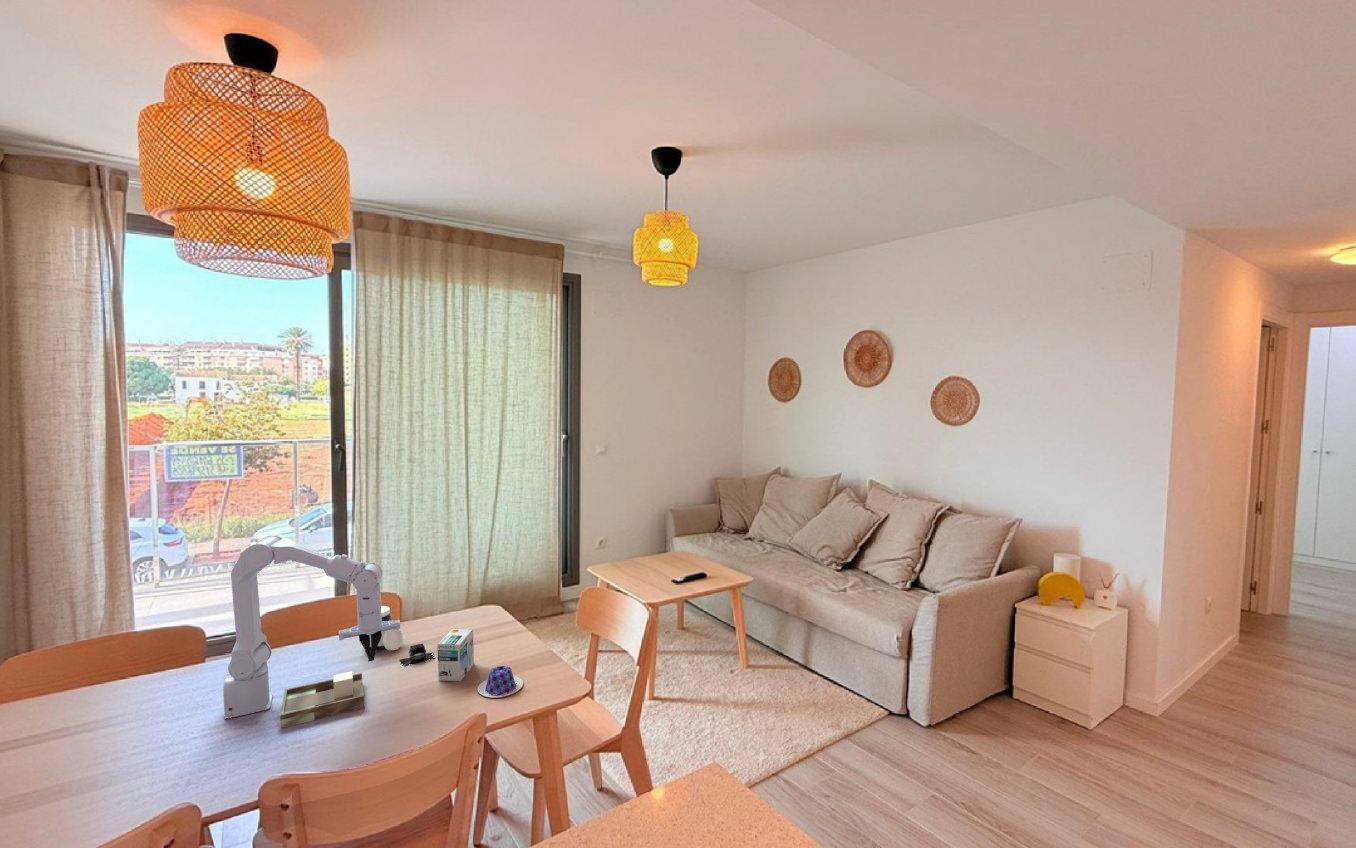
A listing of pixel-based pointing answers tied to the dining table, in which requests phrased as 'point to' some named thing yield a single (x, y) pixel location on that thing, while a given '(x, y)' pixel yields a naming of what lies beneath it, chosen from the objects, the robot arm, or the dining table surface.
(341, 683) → the cream block
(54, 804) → the dining table surface
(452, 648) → the light bulb box
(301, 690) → the brown shallow open box
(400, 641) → the spread jar
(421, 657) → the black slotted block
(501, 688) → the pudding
